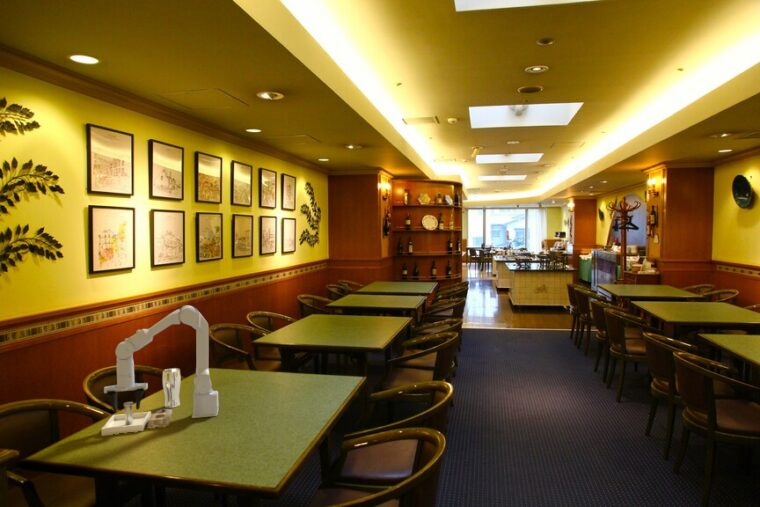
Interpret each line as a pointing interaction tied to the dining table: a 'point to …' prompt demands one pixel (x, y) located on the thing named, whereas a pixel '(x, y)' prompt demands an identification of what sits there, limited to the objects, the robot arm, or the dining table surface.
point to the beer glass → (171, 387)
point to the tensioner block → (160, 418)
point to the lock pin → (128, 413)
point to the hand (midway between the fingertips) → (126, 409)
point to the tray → (118, 424)
